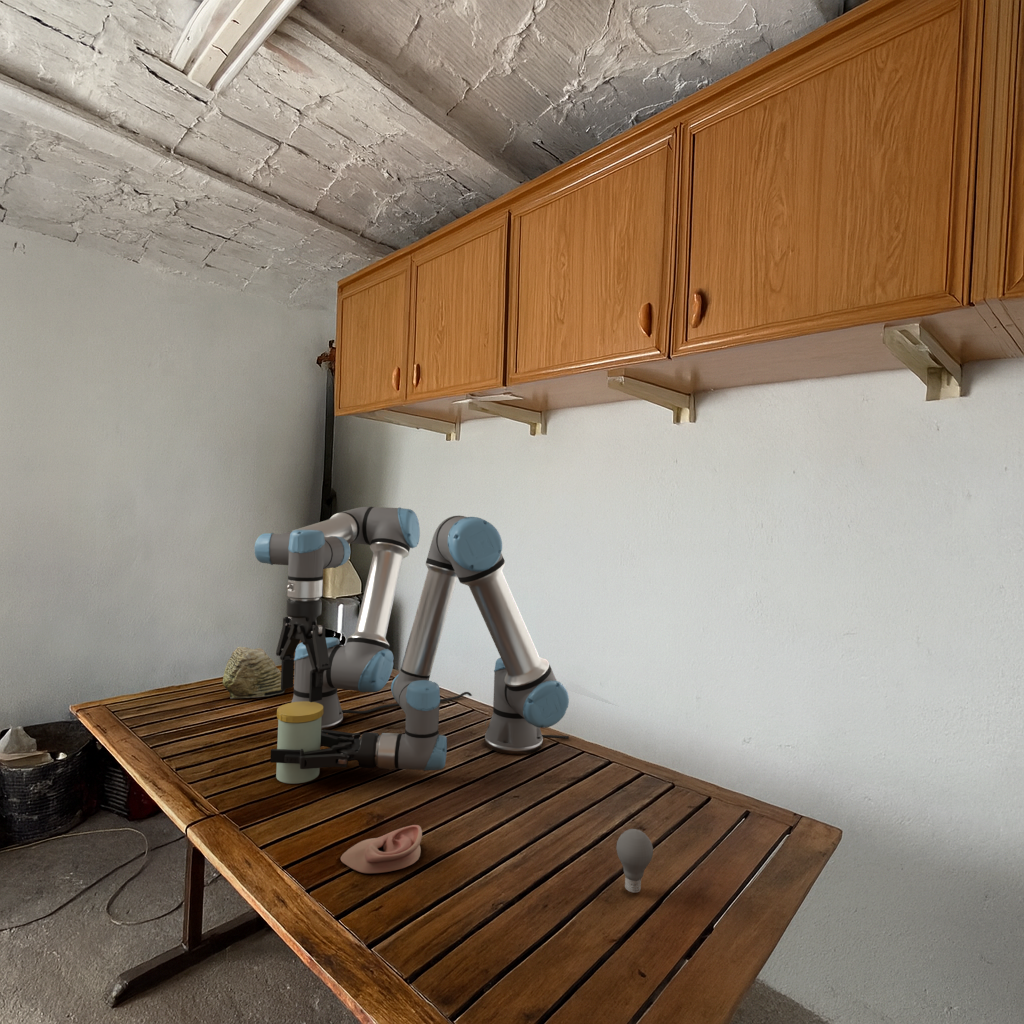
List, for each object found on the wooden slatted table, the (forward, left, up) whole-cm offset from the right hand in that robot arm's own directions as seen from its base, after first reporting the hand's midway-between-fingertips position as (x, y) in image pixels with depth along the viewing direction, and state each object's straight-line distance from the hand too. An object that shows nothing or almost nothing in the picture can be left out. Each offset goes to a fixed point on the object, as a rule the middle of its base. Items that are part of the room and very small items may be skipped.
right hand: (279, 746), depth 144 cm
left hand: (-4, +2, +12) cm, 13 cm away
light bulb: (-49, +66, -6) cm, 83 cm away
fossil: (+1, -61, -6) cm, 61 cm away
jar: (-4, +2, -6) cm, 8 cm away
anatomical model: (-13, +41, -6) cm, 44 cm away
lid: (-4, +2, +9) cm, 10 cm away
